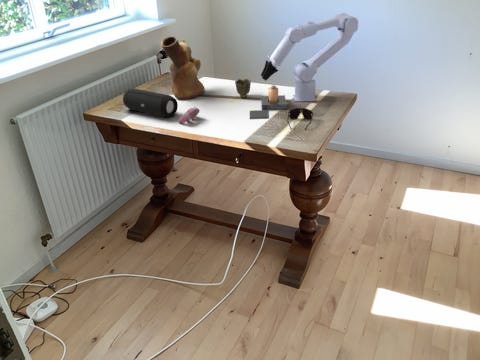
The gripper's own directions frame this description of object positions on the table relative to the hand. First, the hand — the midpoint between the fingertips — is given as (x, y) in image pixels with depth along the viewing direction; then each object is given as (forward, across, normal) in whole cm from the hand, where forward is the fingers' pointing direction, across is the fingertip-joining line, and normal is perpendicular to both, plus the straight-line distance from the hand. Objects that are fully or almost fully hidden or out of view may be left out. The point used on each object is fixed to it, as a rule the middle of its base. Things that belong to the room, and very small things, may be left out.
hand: (263, 78), depth 198 cm
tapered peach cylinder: (+7, 0, +11) cm, 13 cm away
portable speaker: (+42, 0, -33) cm, 54 cm away
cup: (+14, -13, 0) cm, 19 cm away
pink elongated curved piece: (+32, +12, -17) cm, 39 cm away
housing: (+7, 0, +11) cm, 13 cm away
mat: (+13, +10, +6) cm, 18 cm away
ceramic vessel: (+31, -18, -24) cm, 43 cm away
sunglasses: (+5, +21, +21) cm, 30 cm away
